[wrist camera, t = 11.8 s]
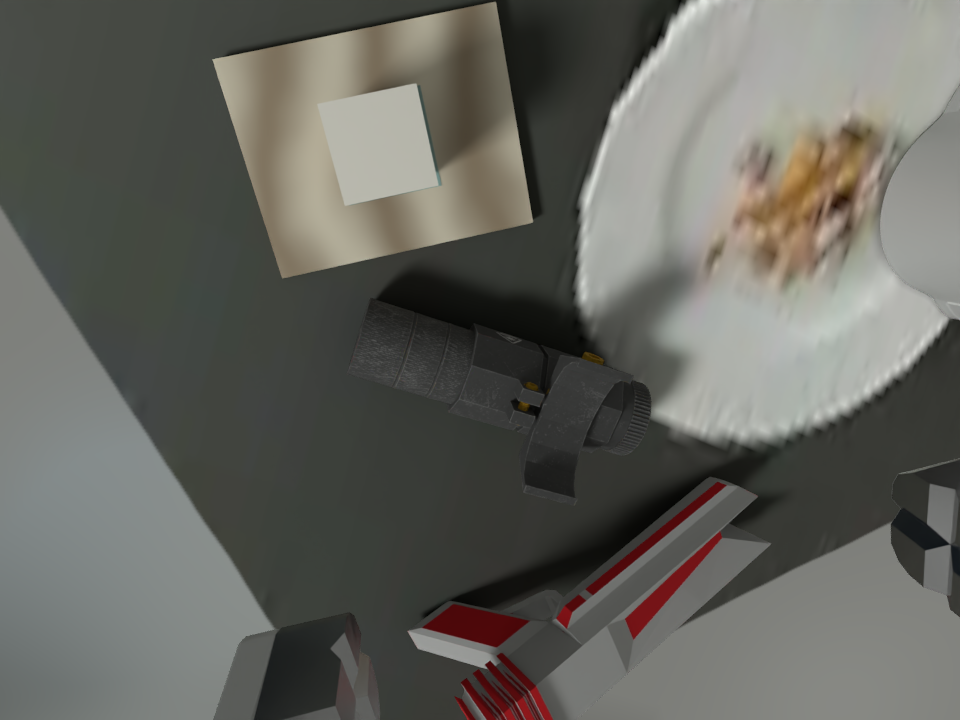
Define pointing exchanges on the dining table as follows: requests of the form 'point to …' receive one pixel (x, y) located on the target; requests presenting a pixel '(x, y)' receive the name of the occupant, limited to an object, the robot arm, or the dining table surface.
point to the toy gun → (595, 614)
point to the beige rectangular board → (365, 69)
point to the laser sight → (508, 389)
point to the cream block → (379, 144)
